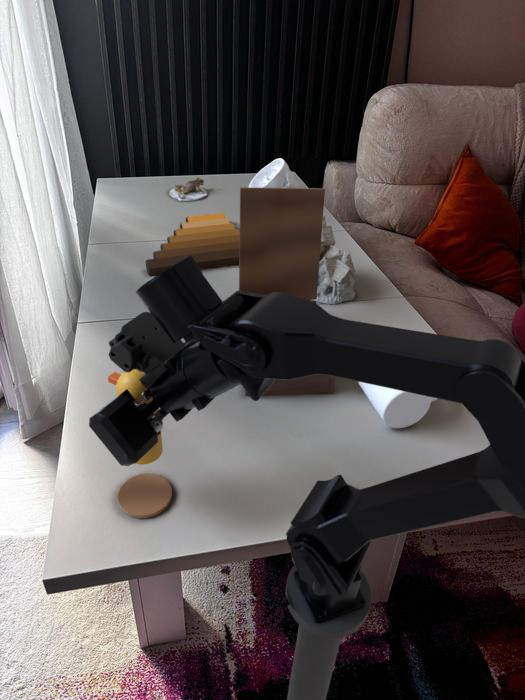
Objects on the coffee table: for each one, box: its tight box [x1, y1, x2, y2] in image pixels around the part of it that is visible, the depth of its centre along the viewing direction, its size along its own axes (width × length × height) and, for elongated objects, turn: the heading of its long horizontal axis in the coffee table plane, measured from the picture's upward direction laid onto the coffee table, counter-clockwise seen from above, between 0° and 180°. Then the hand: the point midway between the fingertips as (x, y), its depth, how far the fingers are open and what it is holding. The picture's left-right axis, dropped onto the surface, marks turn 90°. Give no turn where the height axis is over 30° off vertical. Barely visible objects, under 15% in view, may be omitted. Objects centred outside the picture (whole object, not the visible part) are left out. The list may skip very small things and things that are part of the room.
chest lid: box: [238, 186, 326, 301], centre depth 100 cm, size 20×15×4 cm
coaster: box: [117, 472, 173, 519], centre depth 73 cm, size 7×7×1 cm
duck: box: [107, 369, 163, 466], centre depth 66 cm, size 6×5×12 cm
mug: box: [357, 381, 438, 429], centre depth 88 cm, size 12×10×8 cm
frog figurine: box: [168, 177, 208, 202], centre depth 164 cm, size 12×12×4 cm
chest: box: [244, 300, 336, 397], centre depth 97 cm, size 20×15×6 cm
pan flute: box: [145, 212, 240, 277], centre depth 134 cm, size 25×3×25 cm
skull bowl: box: [248, 157, 301, 188], centre depth 164 cm, size 10×14×12 cm
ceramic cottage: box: [310, 214, 360, 305], centre depth 117 cm, size 16×16×15 cm
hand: (131, 412), depth 66 cm, fingers closed on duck, 4 cm apart
